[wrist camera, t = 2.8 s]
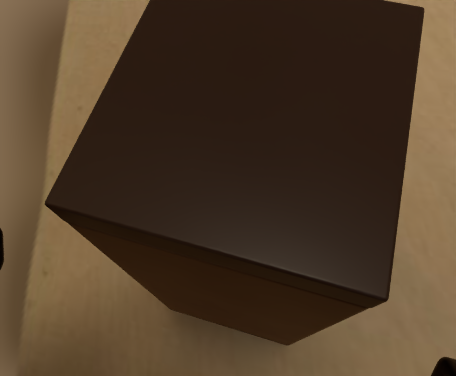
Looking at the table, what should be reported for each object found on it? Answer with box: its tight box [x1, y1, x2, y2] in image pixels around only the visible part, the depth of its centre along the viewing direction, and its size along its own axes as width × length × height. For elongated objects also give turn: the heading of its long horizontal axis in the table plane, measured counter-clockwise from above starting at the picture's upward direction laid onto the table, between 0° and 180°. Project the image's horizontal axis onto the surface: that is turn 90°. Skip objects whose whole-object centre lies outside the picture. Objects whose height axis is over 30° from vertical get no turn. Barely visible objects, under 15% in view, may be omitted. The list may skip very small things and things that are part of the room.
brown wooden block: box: [45, 0, 424, 345], centre depth 13 cm, size 6×6×12 cm
